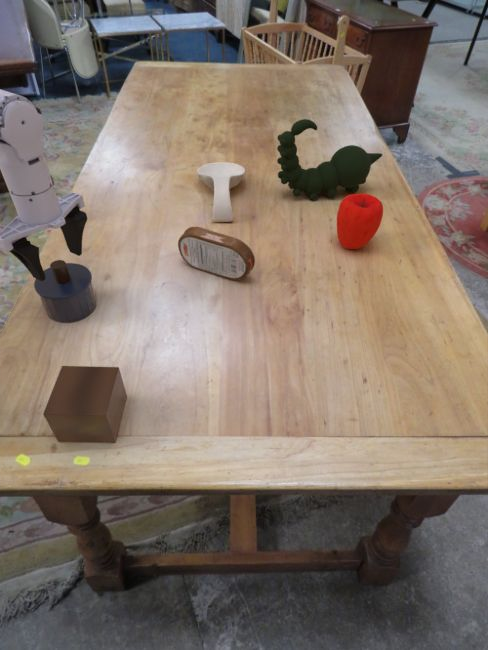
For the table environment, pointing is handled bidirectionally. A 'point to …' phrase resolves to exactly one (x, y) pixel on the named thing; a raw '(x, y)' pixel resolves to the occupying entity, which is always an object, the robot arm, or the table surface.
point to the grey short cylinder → (71, 306)
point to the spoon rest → (221, 186)
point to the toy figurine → (322, 166)
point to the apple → (358, 220)
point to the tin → (216, 253)
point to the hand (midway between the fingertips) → (58, 265)
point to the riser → (86, 404)
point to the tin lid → (63, 280)
